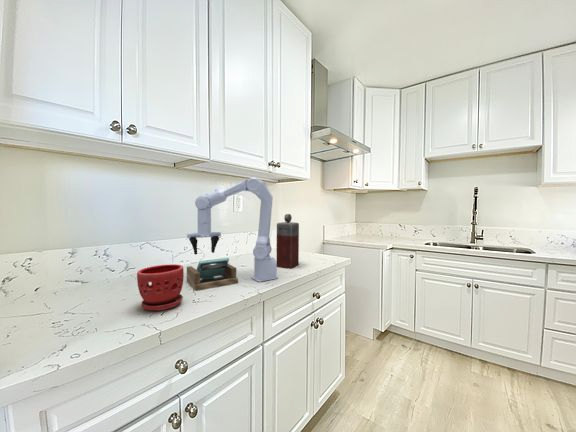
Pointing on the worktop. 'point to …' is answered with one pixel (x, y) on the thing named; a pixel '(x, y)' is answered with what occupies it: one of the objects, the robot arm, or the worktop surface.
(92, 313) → the worktop surface
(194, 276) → the hatch stand
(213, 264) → the hatch flap
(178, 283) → the plant pot
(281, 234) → the red lidded canister
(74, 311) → the worktop surface
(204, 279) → the granite block
